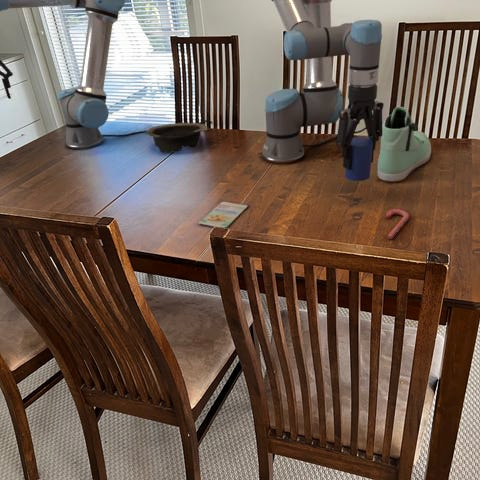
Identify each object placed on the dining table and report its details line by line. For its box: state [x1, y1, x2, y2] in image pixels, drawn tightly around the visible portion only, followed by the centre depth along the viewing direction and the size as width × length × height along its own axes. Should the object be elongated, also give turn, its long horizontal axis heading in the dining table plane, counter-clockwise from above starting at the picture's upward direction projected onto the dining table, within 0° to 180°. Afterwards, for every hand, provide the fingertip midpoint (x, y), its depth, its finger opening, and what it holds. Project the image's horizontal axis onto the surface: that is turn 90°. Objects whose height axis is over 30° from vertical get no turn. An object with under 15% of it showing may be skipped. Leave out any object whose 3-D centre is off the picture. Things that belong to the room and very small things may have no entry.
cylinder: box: [344, 136, 373, 182], centre depth 138 cm, size 7×7×11 cm
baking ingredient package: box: [198, 201, 249, 228], centre depth 141 cm, size 9×1×15 cm
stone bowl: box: [143, 122, 208, 154], centre depth 192 cm, size 25×25×9 cm
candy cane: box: [385, 208, 410, 240], centre depth 129 cm, size 6×15×2 cm, turn 145°
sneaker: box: [376, 106, 432, 183], centre depth 158 cm, size 14×35×20 cm, turn 152°
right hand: (357, 164), depth 139 cm, fingers closed on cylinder, 7 cm apart
